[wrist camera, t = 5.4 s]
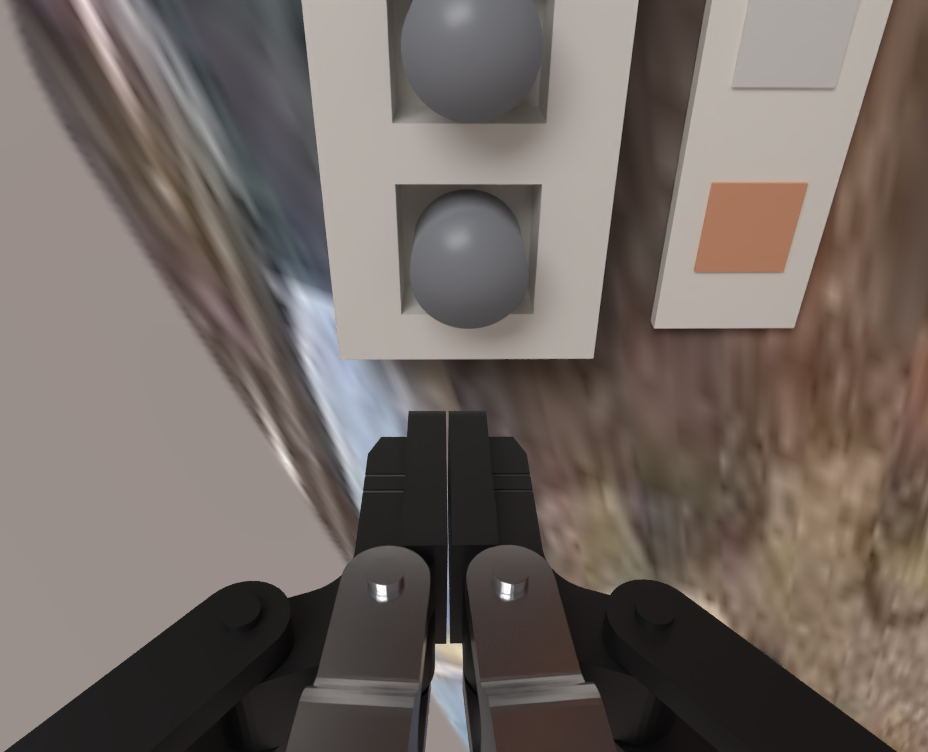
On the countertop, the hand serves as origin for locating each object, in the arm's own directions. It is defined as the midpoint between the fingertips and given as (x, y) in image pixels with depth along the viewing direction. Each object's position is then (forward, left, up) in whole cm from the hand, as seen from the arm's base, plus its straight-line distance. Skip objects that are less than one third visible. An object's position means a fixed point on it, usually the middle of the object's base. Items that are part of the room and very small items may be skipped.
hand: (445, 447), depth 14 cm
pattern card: (-12, -6, -16) cm, 20 cm away
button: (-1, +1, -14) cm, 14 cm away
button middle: (-1, -6, -14) cm, 15 cm away
